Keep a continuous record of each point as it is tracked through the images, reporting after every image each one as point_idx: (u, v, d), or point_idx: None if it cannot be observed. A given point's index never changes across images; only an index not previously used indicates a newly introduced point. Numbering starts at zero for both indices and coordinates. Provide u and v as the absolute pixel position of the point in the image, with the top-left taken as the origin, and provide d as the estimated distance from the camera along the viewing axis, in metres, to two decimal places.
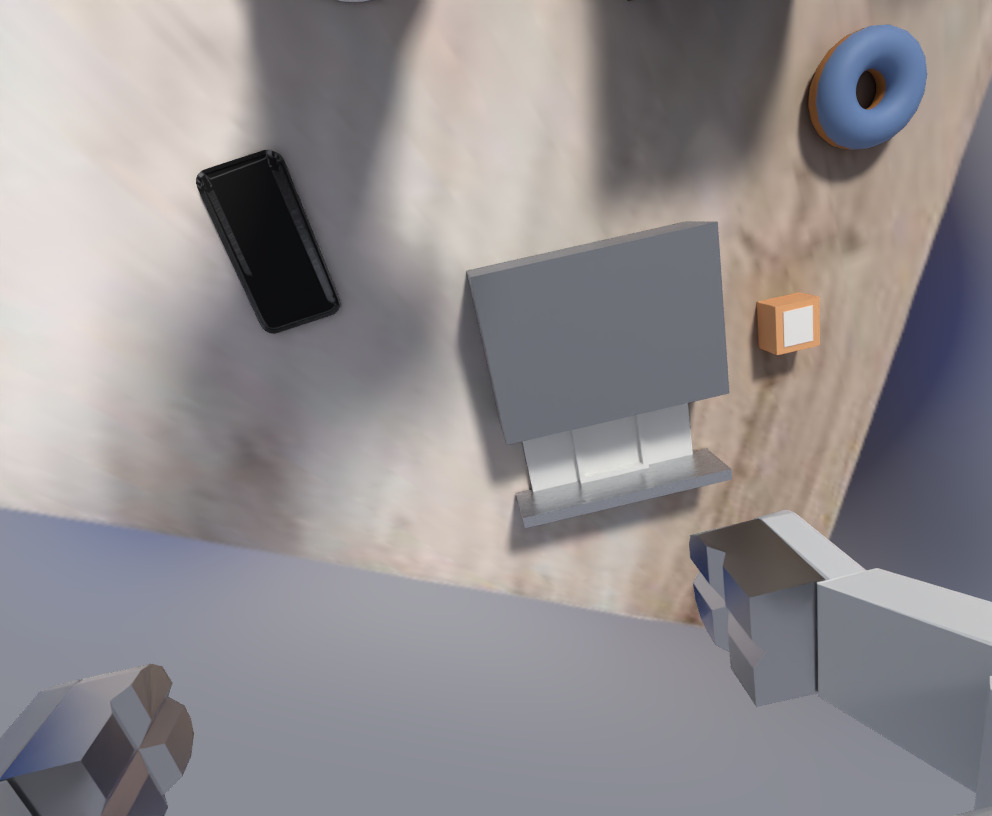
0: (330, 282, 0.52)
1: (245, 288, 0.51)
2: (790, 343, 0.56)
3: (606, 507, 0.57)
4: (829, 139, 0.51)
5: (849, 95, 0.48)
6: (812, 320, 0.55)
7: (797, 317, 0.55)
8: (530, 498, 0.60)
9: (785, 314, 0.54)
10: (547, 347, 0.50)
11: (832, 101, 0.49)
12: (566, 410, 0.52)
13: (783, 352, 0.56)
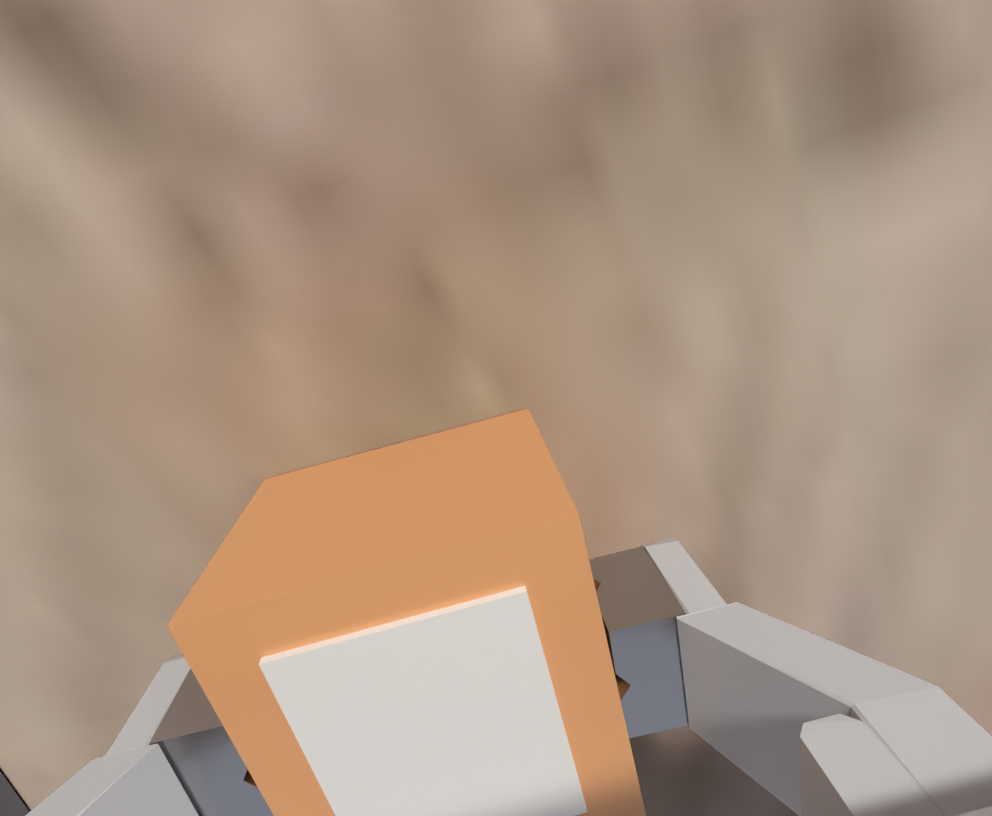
0: None
1: None
2: None
3: None
4: None
5: None
6: (553, 692, 0.07)
7: (413, 687, 0.06)
8: None
9: (287, 680, 0.06)
10: None
11: None
12: None
13: None
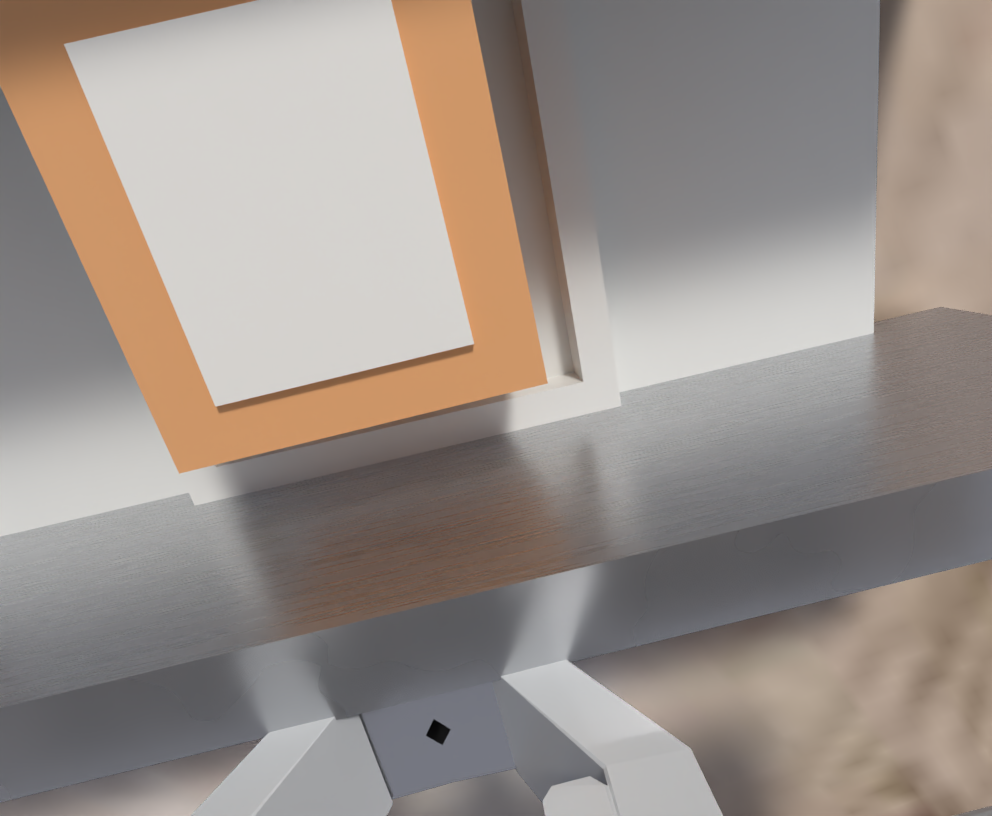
0: None
1: None
2: (266, 369, 0.06)
3: (204, 738, 0.06)
4: None
5: None
6: (425, 148, 0.06)
7: (254, 110, 0.05)
8: None
9: (100, 73, 0.05)
10: None
11: None
12: None
13: (231, 451, 0.07)
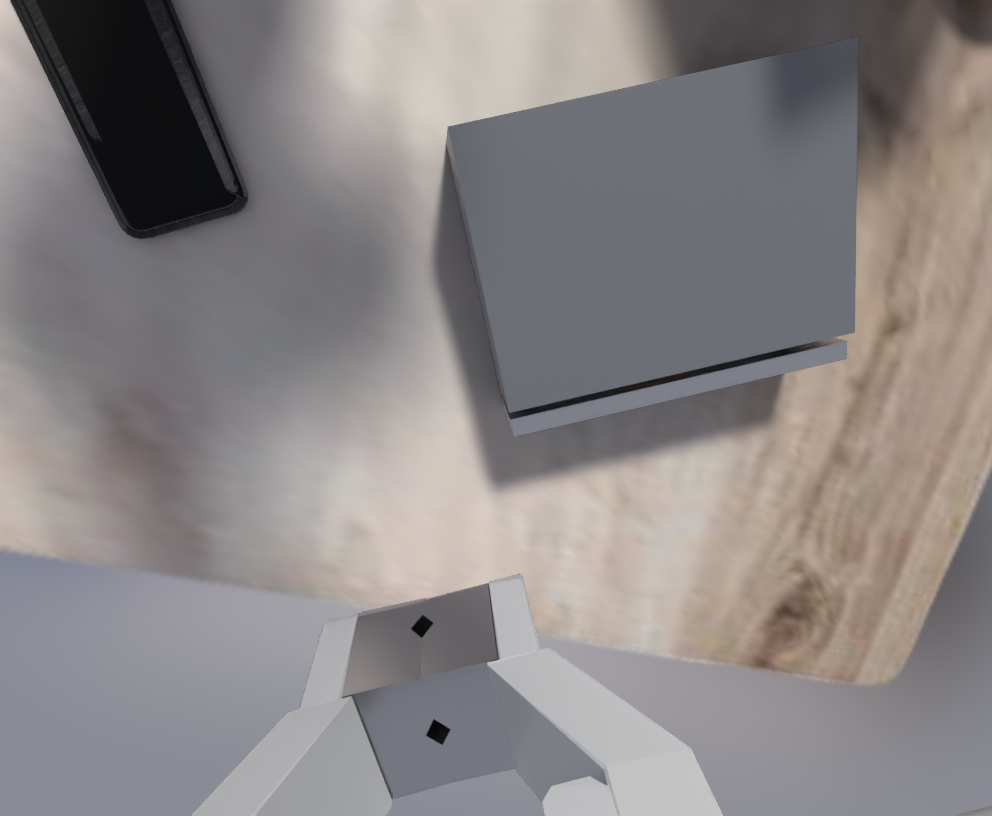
0: (229, 158, 0.33)
1: (91, 161, 0.32)
2: None
3: (645, 403, 0.35)
4: None
5: None
6: None
7: None
8: None
9: None
10: (574, 252, 0.31)
11: None
12: (602, 357, 0.33)
13: None
